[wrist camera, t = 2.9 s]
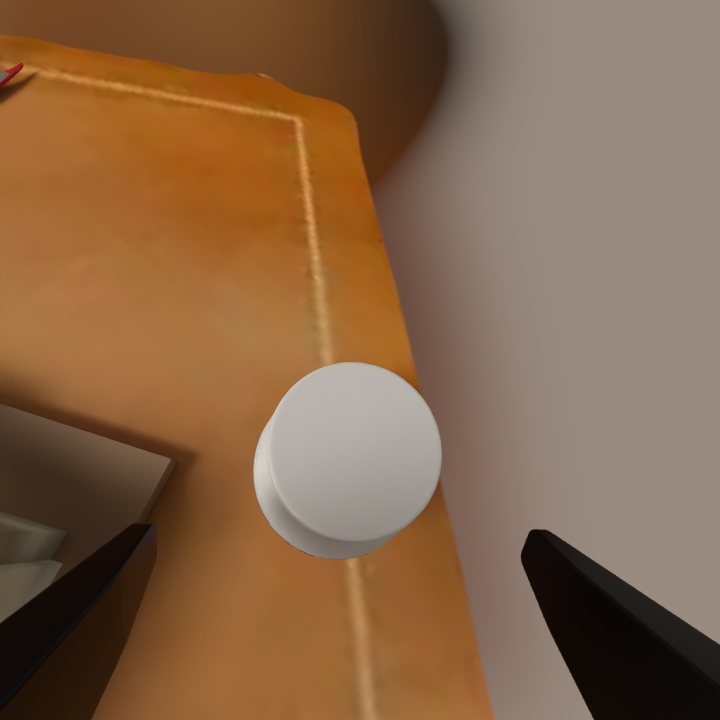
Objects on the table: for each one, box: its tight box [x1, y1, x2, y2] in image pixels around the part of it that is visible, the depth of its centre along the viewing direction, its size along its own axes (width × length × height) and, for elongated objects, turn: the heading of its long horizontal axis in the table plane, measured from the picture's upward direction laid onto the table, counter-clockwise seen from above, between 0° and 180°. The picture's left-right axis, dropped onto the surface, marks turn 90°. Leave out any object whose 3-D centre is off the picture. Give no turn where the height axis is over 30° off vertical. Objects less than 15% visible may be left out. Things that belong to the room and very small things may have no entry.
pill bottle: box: [253, 362, 442, 560], centre depth 13 cm, size 6×6×10 cm
